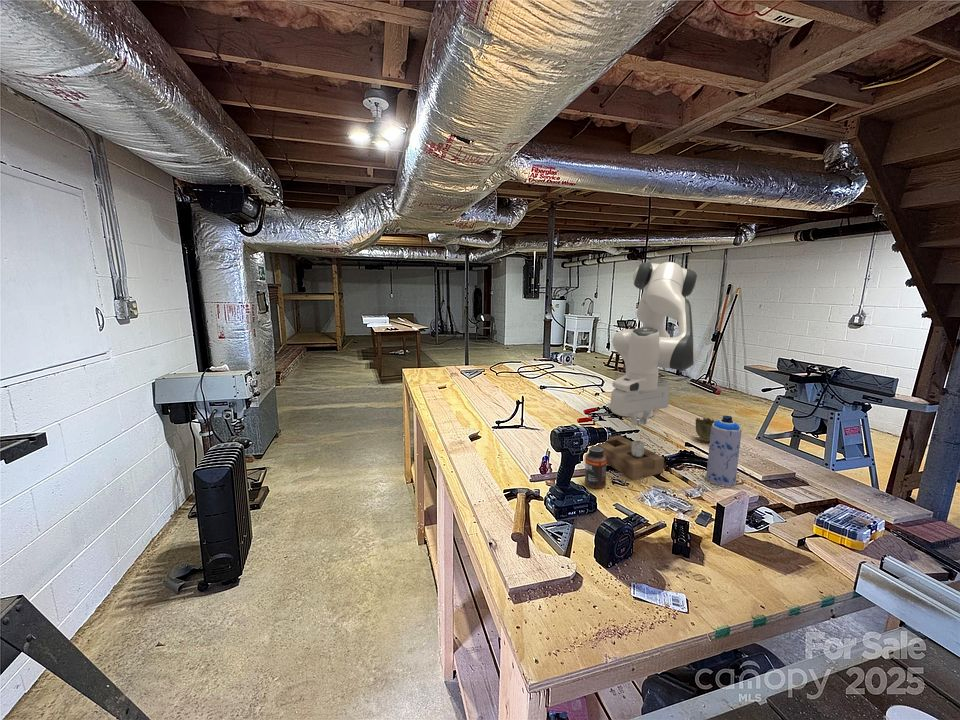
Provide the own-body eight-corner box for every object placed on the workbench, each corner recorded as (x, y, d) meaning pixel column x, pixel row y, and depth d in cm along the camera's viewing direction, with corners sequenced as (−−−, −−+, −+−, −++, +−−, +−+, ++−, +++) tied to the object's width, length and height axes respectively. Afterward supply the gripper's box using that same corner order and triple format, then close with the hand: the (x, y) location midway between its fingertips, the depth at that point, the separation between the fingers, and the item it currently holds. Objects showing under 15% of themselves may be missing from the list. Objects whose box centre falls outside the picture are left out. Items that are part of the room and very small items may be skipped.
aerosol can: (734, 477, 115) (742, 414, 112) (737, 489, 109) (745, 422, 105) (704, 471, 119) (711, 410, 115) (705, 483, 112) (712, 418, 108)
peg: (627, 468, 122) (629, 441, 121) (636, 466, 124) (638, 439, 122) (636, 472, 119) (637, 445, 117) (645, 470, 120) (646, 444, 119)
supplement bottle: (605, 481, 114) (607, 445, 112) (605, 491, 109) (607, 454, 107) (585, 478, 116) (586, 443, 114) (583, 487, 111) (585, 451, 109)
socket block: (591, 453, 133) (591, 440, 132) (618, 448, 137) (619, 435, 136) (632, 480, 115) (633, 464, 114) (663, 472, 119) (664, 457, 118)
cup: (710, 437, 146) (712, 417, 144) (720, 445, 139) (722, 424, 137) (690, 436, 147) (692, 417, 145) (699, 444, 139) (701, 423, 138)
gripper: (659, 375, 122) (656, 416, 125) (608, 382, 115) (606, 425, 118) (676, 380, 117) (672, 423, 119) (622, 387, 110) (620, 432, 112)
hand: (639, 424), depth 118 cm, fingers closed
